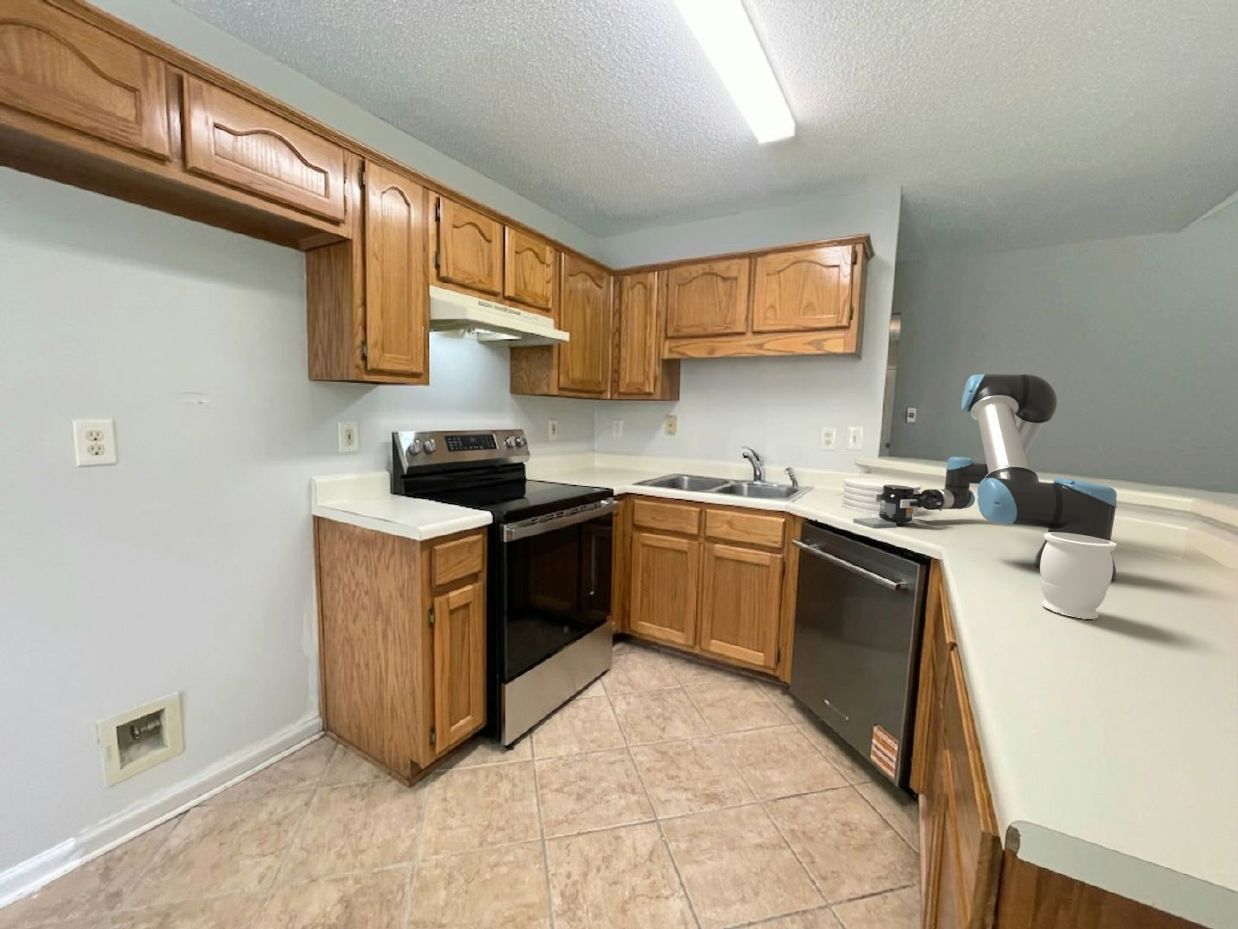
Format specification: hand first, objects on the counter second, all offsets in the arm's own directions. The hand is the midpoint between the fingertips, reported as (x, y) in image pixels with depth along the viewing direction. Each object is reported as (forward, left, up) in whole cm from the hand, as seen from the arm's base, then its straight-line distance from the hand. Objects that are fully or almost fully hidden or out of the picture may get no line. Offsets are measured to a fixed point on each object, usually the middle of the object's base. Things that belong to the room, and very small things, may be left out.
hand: (887, 500), depth 173 cm
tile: (0, 0, -8) cm, 8 cm away
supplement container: (+3, -2, -7) cm, 8 cm away
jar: (-64, -43, -9) cm, 78 cm away
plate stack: (+31, +8, -9) cm, 34 cm away
